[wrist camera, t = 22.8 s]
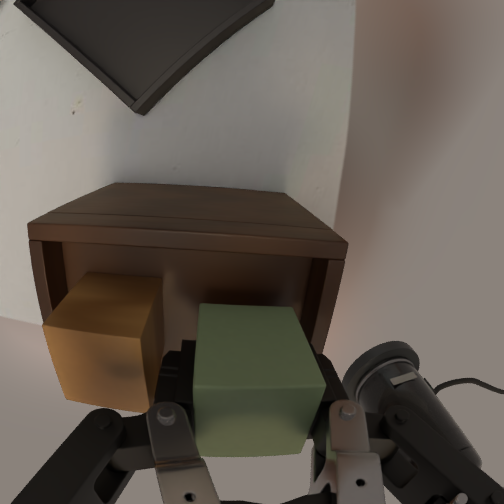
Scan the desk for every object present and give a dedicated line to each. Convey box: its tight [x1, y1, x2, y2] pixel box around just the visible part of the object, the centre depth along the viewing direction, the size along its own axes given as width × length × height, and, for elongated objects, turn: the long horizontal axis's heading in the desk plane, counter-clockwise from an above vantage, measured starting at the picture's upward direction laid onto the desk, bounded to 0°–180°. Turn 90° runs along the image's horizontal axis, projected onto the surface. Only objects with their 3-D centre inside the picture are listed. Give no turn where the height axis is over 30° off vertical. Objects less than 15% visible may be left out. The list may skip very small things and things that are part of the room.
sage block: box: [193, 303, 326, 457], centre depth 11 cm, size 4×4×5 cm
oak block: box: [42, 272, 165, 413], centre depth 12 cm, size 4×4×5 cm
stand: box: [27, 183, 348, 403], centre depth 19 cm, size 14×10×13 cm
